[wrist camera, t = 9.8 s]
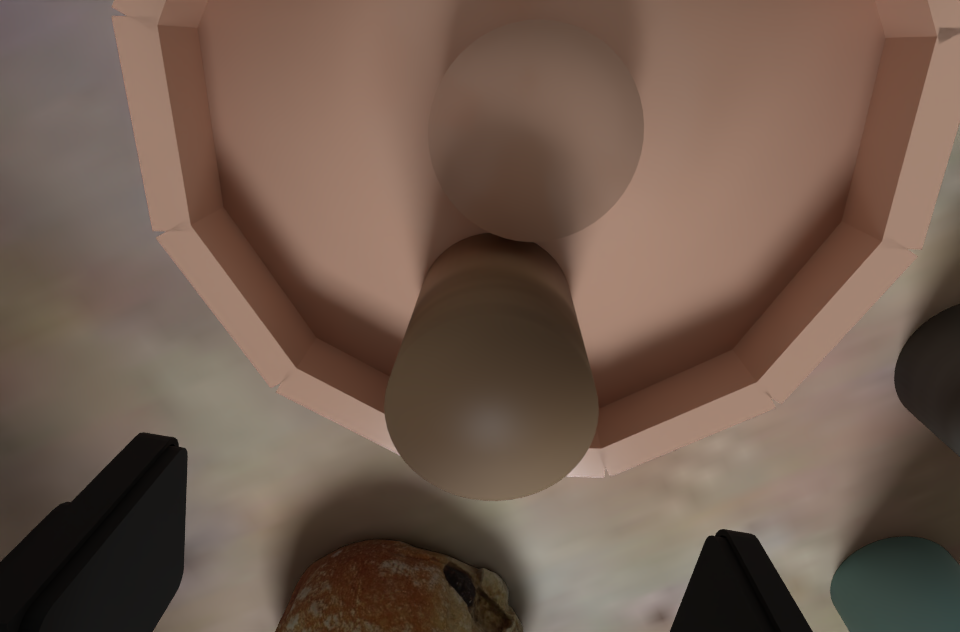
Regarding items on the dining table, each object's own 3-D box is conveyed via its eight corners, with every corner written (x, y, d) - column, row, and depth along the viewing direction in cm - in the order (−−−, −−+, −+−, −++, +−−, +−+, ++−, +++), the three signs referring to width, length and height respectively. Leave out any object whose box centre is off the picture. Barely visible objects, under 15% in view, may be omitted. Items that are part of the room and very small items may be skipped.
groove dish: (805, 428, 21) (851, 486, 18) (237, 410, 21) (196, 463, 19) (996, -331, 14) (1122, -428, 11) (121, -329, 14) (28, -421, 11)
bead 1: (598, 326, 19) (637, 443, 13) (474, 395, 20) (461, 530, 14) (519, 202, 17) (525, 274, 12) (390, 283, 18) (341, 384, 13)
